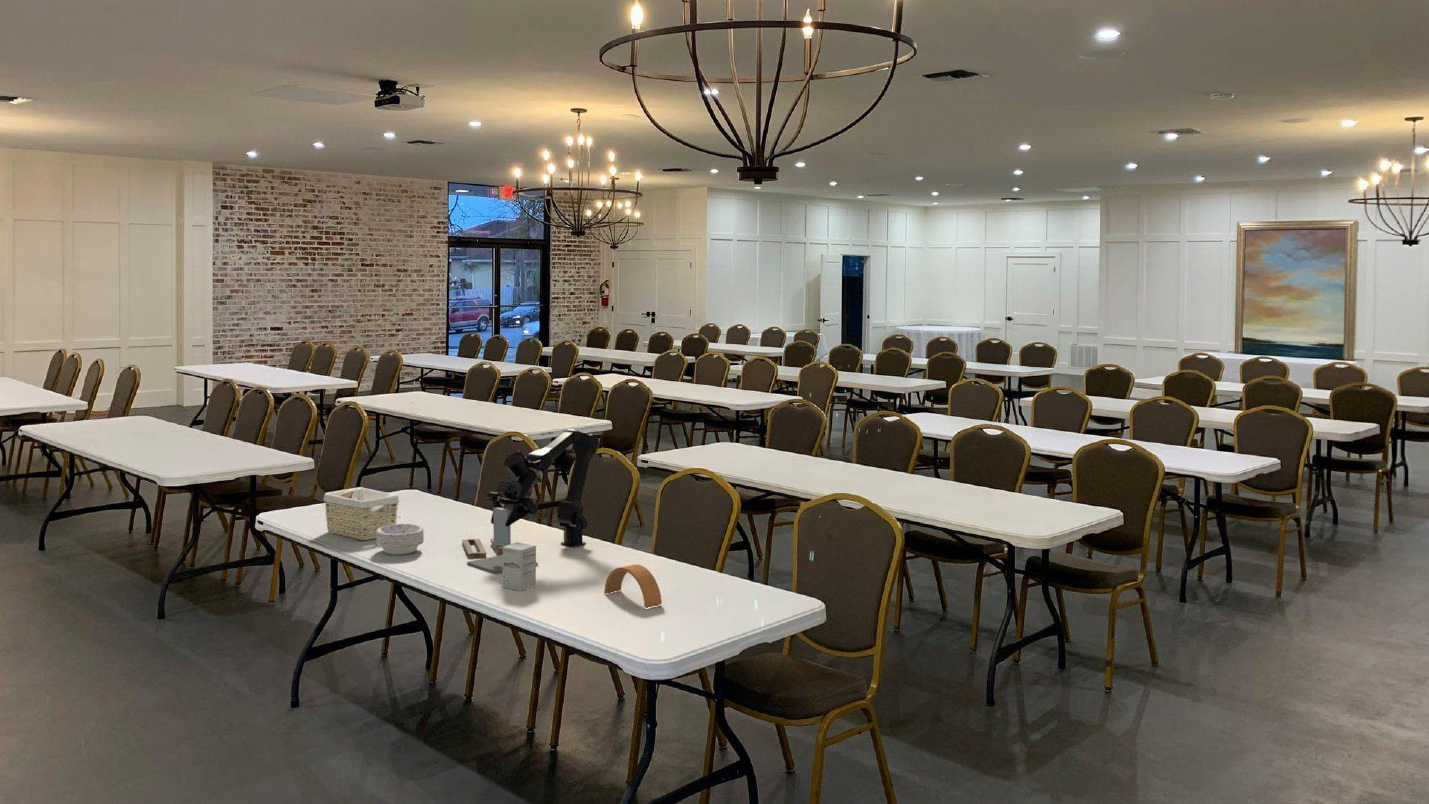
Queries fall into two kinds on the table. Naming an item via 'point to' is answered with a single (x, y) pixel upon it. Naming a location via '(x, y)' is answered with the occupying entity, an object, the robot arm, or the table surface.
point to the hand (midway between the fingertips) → (499, 524)
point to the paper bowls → (400, 538)
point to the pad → (490, 564)
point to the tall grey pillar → (501, 527)
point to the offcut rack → (479, 548)
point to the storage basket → (359, 512)
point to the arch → (644, 581)
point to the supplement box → (519, 566)
